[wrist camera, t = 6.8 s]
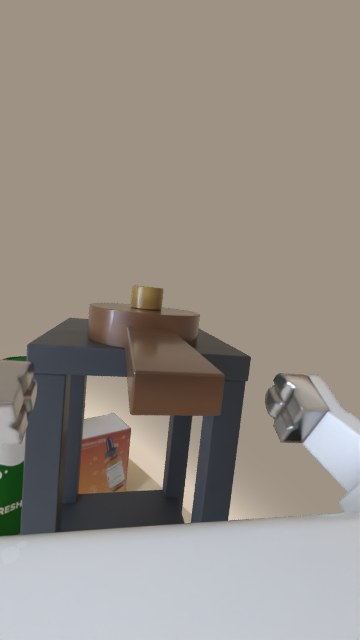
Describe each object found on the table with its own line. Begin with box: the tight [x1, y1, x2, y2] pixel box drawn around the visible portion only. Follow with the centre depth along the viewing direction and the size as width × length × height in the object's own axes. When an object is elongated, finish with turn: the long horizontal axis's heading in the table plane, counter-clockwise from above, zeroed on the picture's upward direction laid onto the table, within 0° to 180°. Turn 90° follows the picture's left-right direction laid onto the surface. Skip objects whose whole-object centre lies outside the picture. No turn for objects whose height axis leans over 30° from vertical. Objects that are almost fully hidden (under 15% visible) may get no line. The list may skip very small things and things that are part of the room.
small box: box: [78, 413, 131, 494], centre depth 39 cm, size 8×6×10 cm
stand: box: [20, 318, 251, 535], centre depth 23 cm, size 12×12×26 cm
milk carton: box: [0, 356, 27, 536], centre depth 34 cm, size 9×9×20 cm
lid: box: [87, 286, 225, 416], centre depth 15 cm, size 15×7×3 cm, turn 12°
